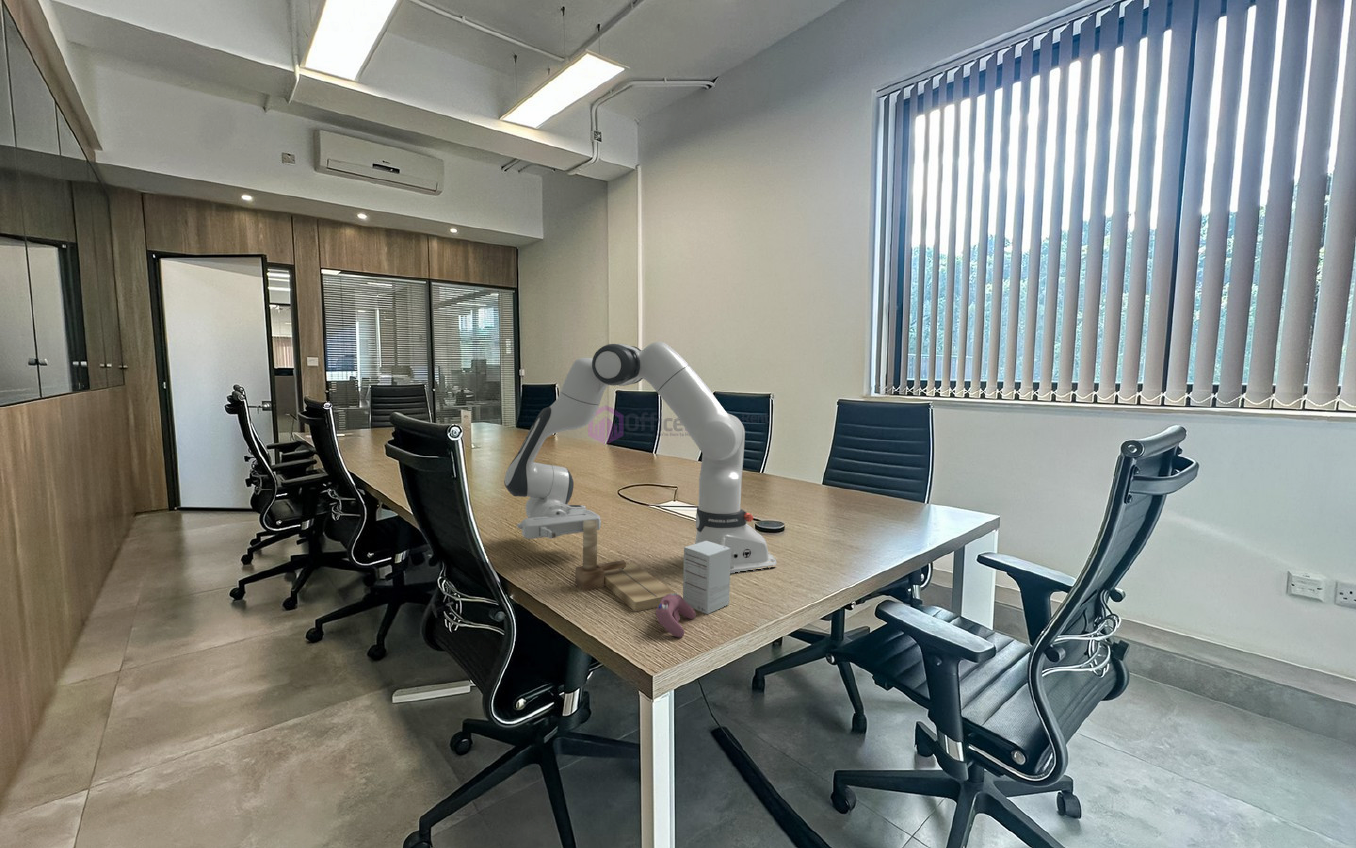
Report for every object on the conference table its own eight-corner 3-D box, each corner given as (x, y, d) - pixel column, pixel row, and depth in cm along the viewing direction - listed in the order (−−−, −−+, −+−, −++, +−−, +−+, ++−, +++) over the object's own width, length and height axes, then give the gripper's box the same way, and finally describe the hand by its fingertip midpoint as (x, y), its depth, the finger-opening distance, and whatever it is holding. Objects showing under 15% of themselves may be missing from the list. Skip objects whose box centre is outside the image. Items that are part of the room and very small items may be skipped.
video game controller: (678, 622, 111) (664, 590, 111) (698, 615, 110) (684, 583, 110) (663, 644, 102) (648, 610, 102) (684, 637, 100) (669, 602, 101)
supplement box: (704, 594, 122) (706, 539, 120) (730, 605, 116) (732, 547, 115) (681, 603, 116) (682, 546, 115) (706, 615, 111) (708, 555, 110)
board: (594, 576, 131) (595, 568, 130) (632, 570, 136) (632, 562, 135) (635, 611, 112) (635, 602, 112) (677, 602, 117) (677, 593, 117)
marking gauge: (583, 591, 122) (583, 525, 120) (575, 583, 126) (576, 520, 125) (628, 582, 127) (630, 520, 126) (619, 575, 132) (621, 515, 130)
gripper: (515, 512, 141) (529, 525, 129) (589, 504, 151) (609, 516, 140) (514, 535, 141) (529, 551, 130) (588, 526, 152) (608, 540, 140)
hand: (571, 533), depth 135 cm, fingers open, 8 cm apart
